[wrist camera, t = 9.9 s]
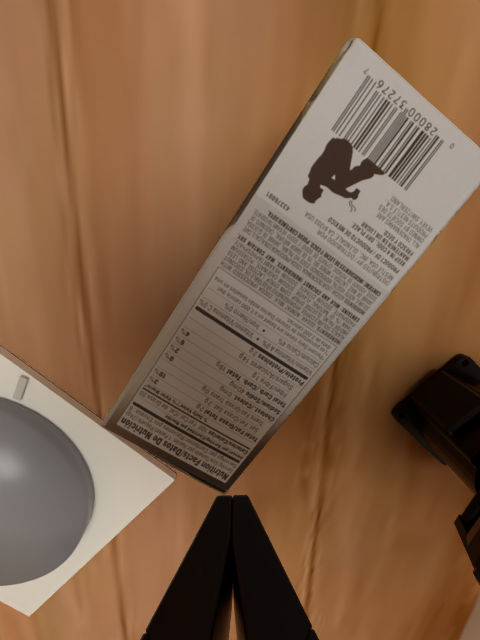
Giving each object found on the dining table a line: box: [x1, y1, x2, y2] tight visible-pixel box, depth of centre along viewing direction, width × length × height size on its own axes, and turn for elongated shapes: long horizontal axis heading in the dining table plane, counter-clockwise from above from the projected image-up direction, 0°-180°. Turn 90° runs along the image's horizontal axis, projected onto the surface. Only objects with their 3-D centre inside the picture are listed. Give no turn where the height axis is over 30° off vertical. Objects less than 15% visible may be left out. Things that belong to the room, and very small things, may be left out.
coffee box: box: [102, 38, 480, 494], centre depth 15 cm, size 9×6×16 cm
